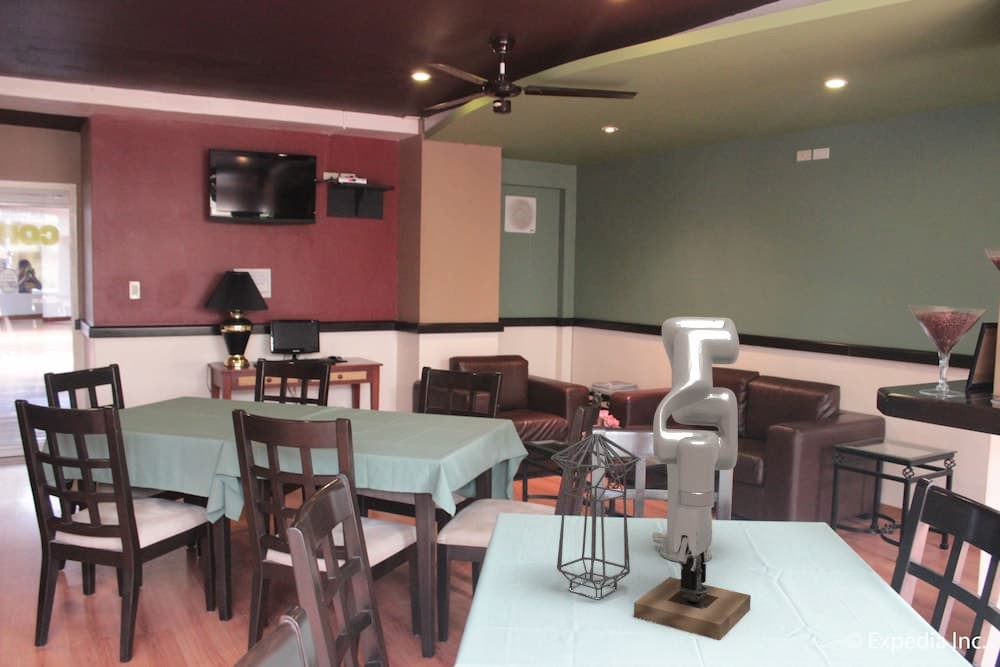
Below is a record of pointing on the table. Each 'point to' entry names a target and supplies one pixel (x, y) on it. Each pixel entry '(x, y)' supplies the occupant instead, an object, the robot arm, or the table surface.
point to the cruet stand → (693, 609)
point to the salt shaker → (695, 596)
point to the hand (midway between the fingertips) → (693, 584)
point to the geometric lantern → (558, 459)
